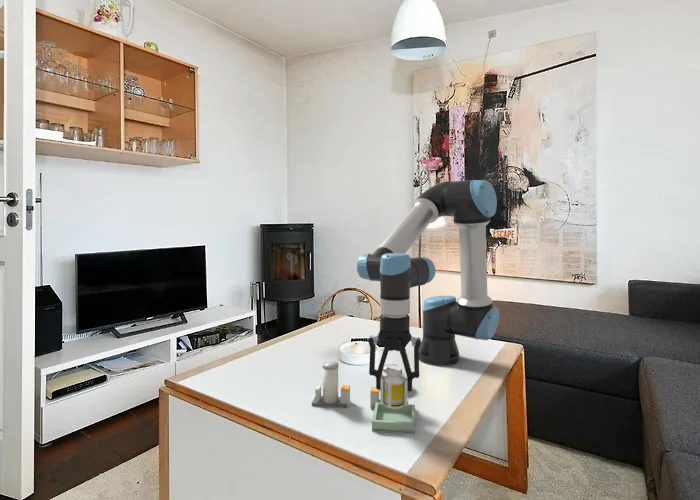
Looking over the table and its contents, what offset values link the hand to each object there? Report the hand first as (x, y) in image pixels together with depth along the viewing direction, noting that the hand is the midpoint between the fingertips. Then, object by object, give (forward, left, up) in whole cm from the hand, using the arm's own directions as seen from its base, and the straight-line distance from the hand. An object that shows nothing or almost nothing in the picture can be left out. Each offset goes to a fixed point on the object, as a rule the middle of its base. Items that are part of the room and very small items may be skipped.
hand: (393, 401), depth 110 cm
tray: (0, 0, -6) cm, 6 cm away
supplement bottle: (0, 0, -1) cm, 1 cm away
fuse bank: (+10, -8, -6) cm, 14 cm away
